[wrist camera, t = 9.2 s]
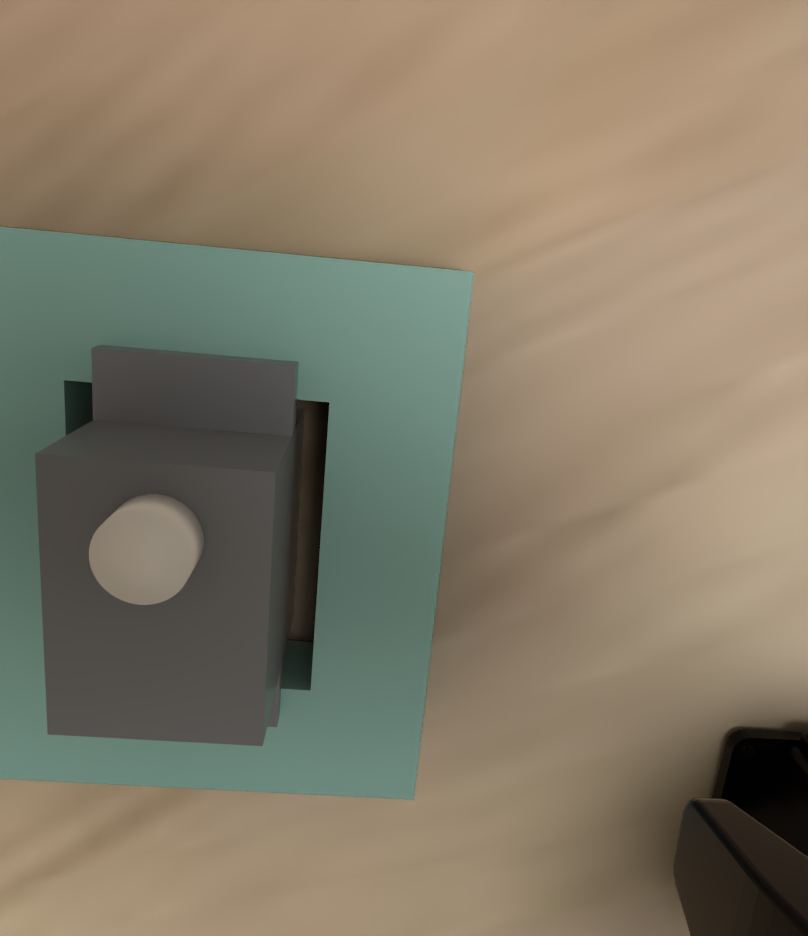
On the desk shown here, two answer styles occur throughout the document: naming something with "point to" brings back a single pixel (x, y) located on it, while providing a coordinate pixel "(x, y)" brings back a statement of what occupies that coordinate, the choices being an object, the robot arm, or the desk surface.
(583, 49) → the desk surface
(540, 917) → the desk surface
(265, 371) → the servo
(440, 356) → the plate
